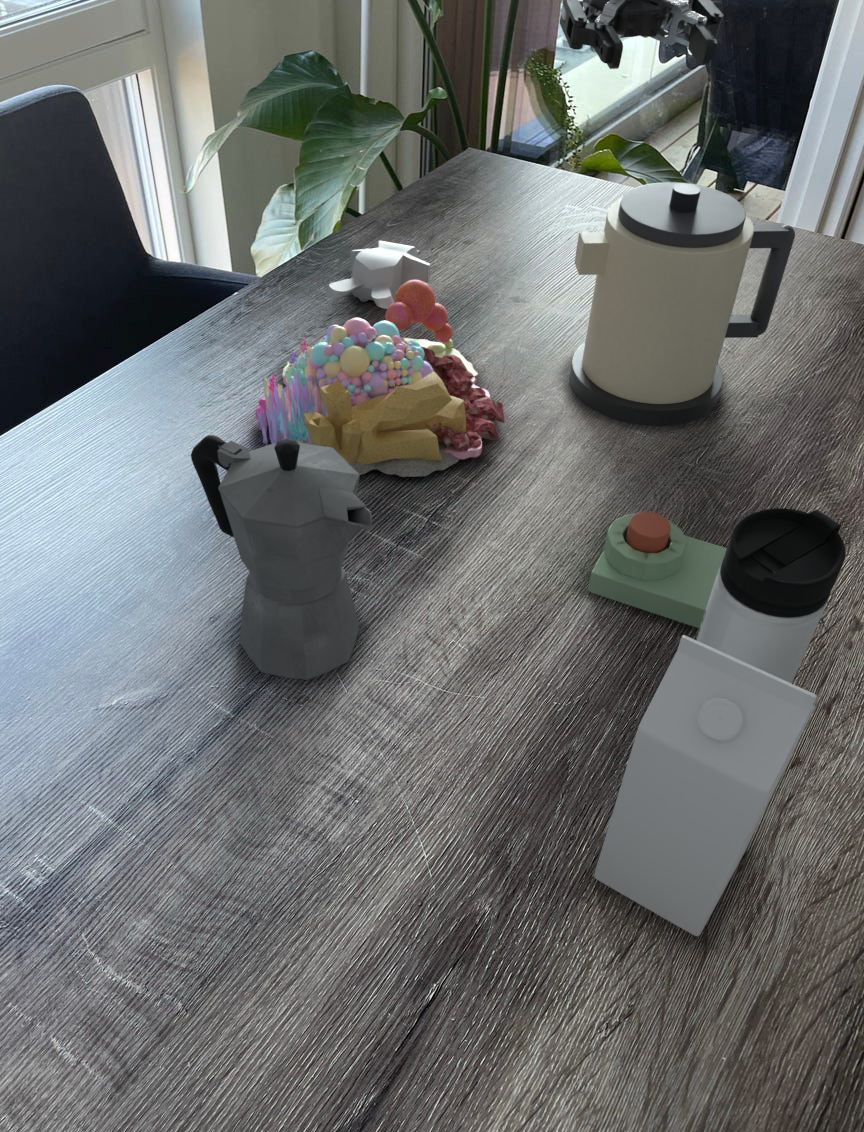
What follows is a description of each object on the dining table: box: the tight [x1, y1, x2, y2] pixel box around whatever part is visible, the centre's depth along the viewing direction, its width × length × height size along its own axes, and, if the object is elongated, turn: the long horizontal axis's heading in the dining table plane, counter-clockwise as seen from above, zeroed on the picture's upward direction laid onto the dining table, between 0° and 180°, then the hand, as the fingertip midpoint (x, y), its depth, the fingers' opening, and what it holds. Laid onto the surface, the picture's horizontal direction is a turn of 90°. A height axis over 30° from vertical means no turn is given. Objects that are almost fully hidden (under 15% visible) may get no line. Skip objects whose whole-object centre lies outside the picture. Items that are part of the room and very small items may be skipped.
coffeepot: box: [190, 434, 373, 681], centre depth 73 cm, size 15×9×18 cm, turn 54°
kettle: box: [569, 181, 796, 427], centre depth 98 cm, size 16×20×20 cm
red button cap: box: [626, 511, 671, 553], centre depth 82 cm, size 3×3×2 cm
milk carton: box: [593, 634, 818, 937], centre depth 59 cm, size 7×7×19 cm
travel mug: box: [695, 507, 847, 684], centre depth 65 cm, size 6×7×20 cm
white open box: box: [324, 240, 431, 310], centre depth 115 cm, size 10×5×15 cm
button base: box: [587, 513, 727, 629], centre depth 82 cm, size 14×8×4 cm, turn 63°
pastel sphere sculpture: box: [255, 280, 505, 478], centre depth 98 cm, size 25×24×9 cm
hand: (663, 56), depth 93 cm, fingers open, 8 cm apart
